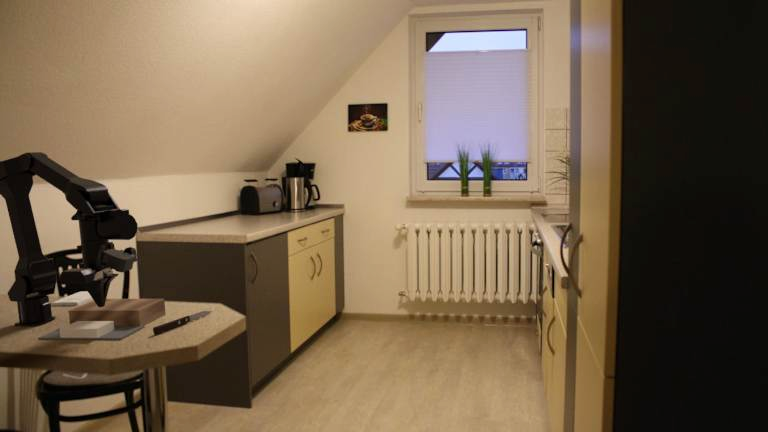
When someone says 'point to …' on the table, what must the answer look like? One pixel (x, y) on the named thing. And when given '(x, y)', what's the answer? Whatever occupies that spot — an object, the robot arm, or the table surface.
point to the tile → (86, 329)
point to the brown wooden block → (120, 311)
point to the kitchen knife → (178, 322)
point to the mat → (116, 334)
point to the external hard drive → (73, 299)
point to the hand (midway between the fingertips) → (101, 306)
